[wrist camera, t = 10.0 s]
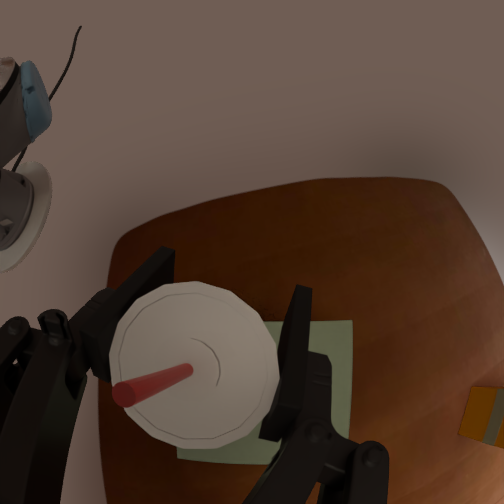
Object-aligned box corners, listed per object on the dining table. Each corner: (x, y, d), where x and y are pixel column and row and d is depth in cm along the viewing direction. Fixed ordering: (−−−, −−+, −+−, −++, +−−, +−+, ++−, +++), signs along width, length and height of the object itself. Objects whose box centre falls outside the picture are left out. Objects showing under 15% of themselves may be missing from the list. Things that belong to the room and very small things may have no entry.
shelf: (193, 322, 31) (177, 318, 25) (332, 324, 31) (352, 320, 24) (191, 436, 27) (177, 458, 21) (328, 436, 27) (346, 458, 20)
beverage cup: (162, 322, 18) (-2, 273, 5) (250, 297, 18) (242, 182, 5) (189, 409, 16) (69, 520, 3) (279, 384, 17) (347, 493, 3)
